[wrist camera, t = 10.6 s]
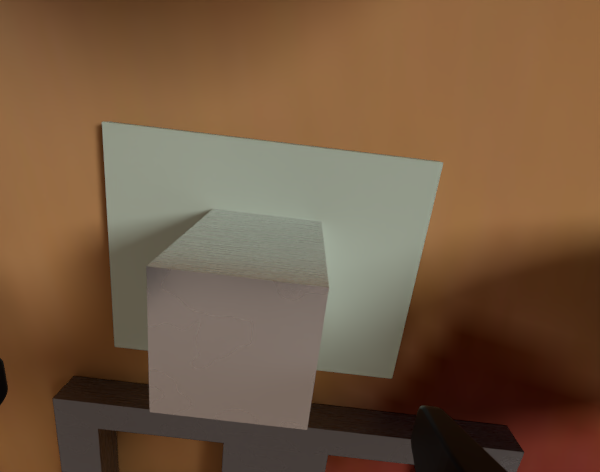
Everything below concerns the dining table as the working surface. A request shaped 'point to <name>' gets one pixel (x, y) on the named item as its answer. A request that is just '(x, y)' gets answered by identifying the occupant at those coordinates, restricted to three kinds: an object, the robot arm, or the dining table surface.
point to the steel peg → (238, 319)
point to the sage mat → (275, 202)
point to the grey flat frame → (243, 433)
